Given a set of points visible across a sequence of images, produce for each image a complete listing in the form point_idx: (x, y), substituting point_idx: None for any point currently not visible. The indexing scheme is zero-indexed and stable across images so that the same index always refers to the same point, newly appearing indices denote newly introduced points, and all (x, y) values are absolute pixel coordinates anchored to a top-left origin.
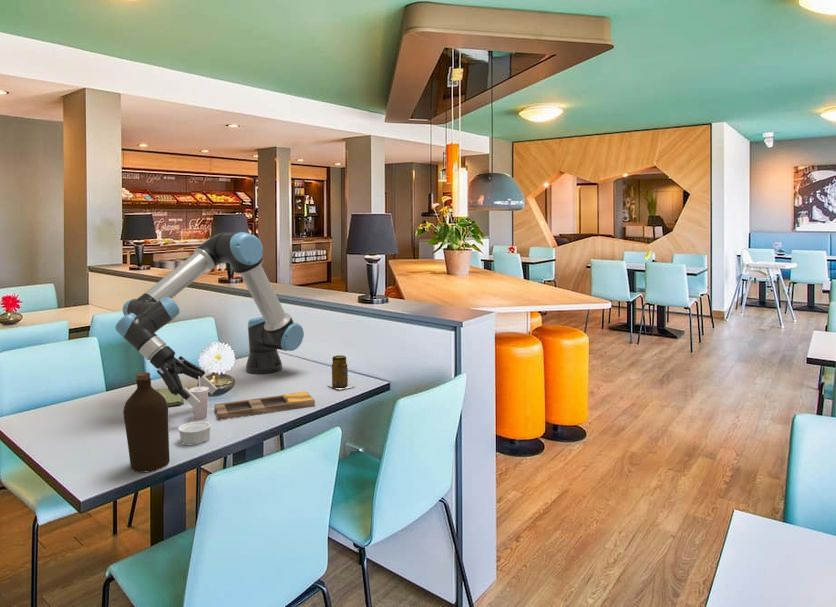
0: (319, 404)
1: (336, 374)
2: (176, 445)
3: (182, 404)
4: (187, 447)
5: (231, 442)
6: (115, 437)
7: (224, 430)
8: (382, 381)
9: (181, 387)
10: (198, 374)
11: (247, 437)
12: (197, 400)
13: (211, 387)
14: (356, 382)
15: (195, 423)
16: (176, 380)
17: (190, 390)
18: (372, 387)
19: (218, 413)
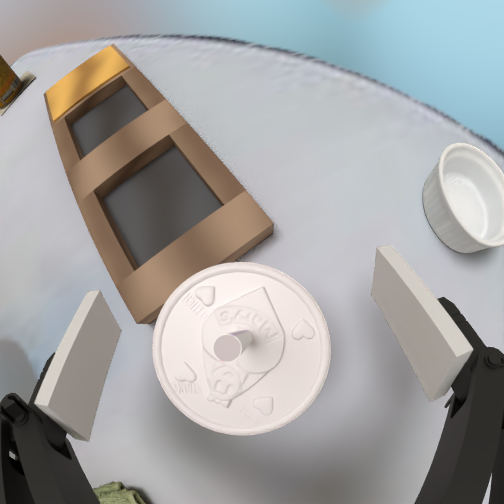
0: None
1: (4, 71)
2: None
3: (122, 484)
4: None
5: (421, 109)
6: None
7: (364, 157)
8: (15, 62)
9: (497, 354)
10: (48, 446)
11: (379, 84)
12: (397, 255)
13: (95, 326)
14: None
15: (455, 214)
16: (487, 460)
17: (285, 407)
18: (37, 52)
19: (262, 227)
